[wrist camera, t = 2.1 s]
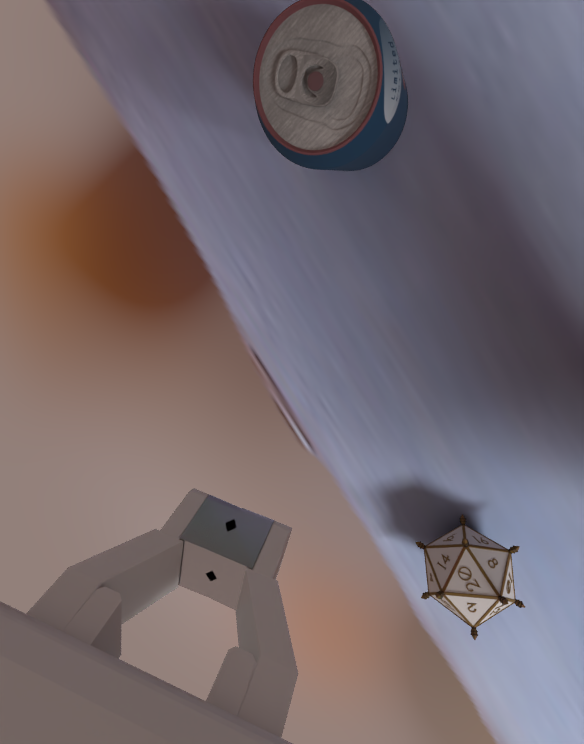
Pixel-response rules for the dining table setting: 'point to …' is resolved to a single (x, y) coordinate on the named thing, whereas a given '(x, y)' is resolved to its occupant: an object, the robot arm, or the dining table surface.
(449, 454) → the dining table surface
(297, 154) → the soda can
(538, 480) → the dining table surface
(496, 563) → the game die
